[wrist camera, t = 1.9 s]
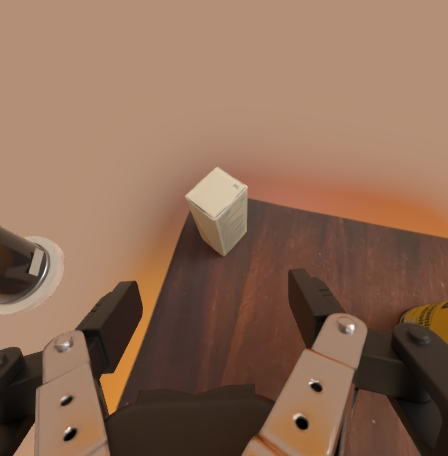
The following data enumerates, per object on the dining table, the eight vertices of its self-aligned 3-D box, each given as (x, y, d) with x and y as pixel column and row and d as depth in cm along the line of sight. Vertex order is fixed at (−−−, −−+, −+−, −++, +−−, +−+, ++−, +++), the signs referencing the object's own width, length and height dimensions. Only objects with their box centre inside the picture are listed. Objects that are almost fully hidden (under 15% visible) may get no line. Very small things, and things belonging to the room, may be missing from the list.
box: (225, 215, 35) (218, 163, 25) (247, 232, 33) (250, 184, 23) (200, 240, 33) (182, 195, 23) (222, 259, 32) (214, 220, 22)
